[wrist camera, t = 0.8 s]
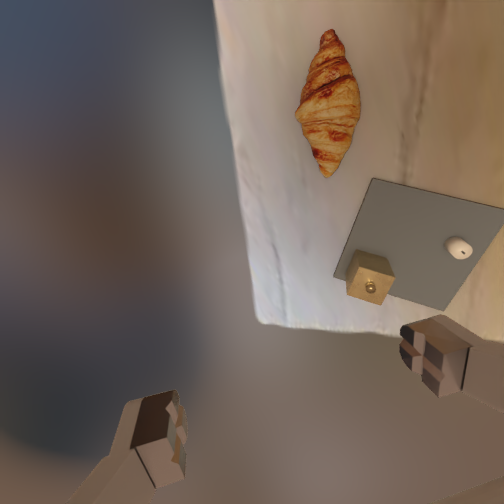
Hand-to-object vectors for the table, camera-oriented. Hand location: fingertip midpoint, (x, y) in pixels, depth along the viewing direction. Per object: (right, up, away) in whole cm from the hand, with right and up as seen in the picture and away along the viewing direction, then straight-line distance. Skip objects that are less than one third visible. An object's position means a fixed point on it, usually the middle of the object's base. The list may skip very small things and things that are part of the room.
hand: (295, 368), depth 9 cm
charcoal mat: (+28, +5, +40) cm, 49 cm away
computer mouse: (+34, +6, +37) cm, 51 cm away
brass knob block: (+21, +1, +43) cm, 48 cm away
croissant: (+11, +28, +35) cm, 47 cm away
